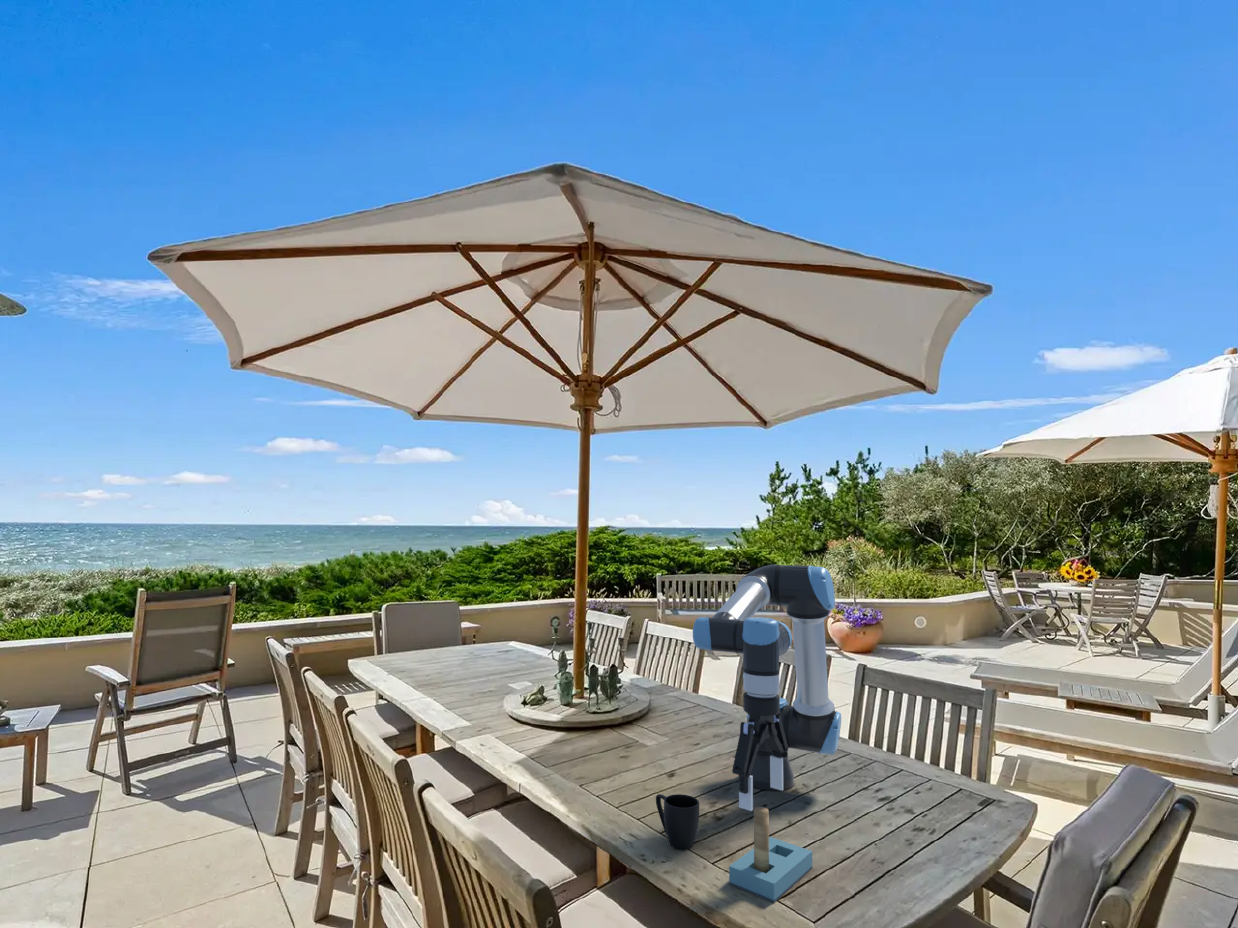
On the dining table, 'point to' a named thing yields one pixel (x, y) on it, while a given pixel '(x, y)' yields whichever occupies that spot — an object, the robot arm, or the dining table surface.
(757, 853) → the dowel
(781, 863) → the bore slab
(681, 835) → the mug
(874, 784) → the dining table surface
